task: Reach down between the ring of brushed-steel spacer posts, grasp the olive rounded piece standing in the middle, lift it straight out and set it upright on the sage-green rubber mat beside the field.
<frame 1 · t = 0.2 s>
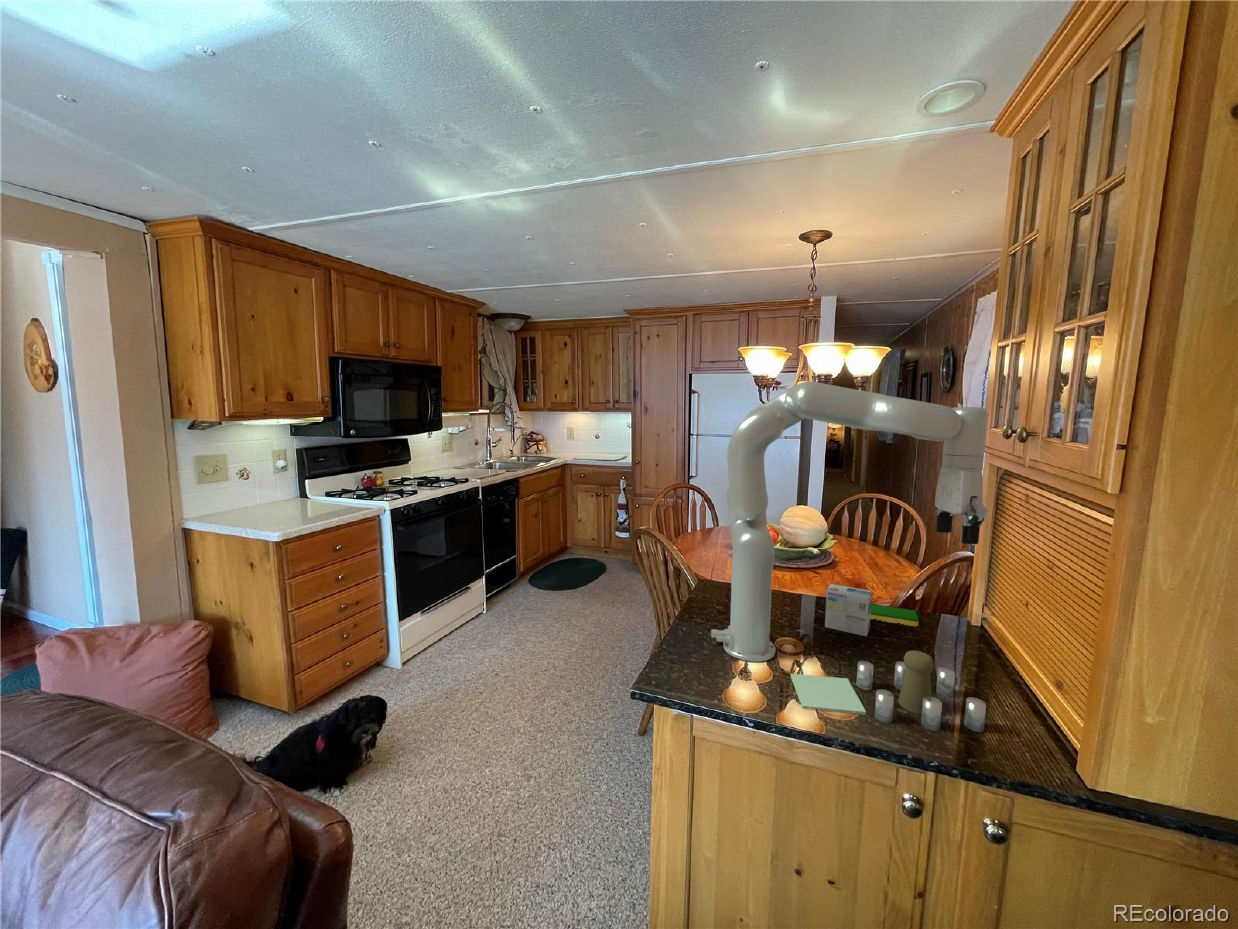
hand: (956, 537, 110), 31 cm above the table, fingers open, 9 cm apart
spacer field: (915, 705, 98), on the table
mat: (825, 694, 102), on the table
olive rounded piece: (915, 706, 98), on the table
dish sponge: (888, 619, 140), on the table
light bulb box: (846, 628, 133), on the table
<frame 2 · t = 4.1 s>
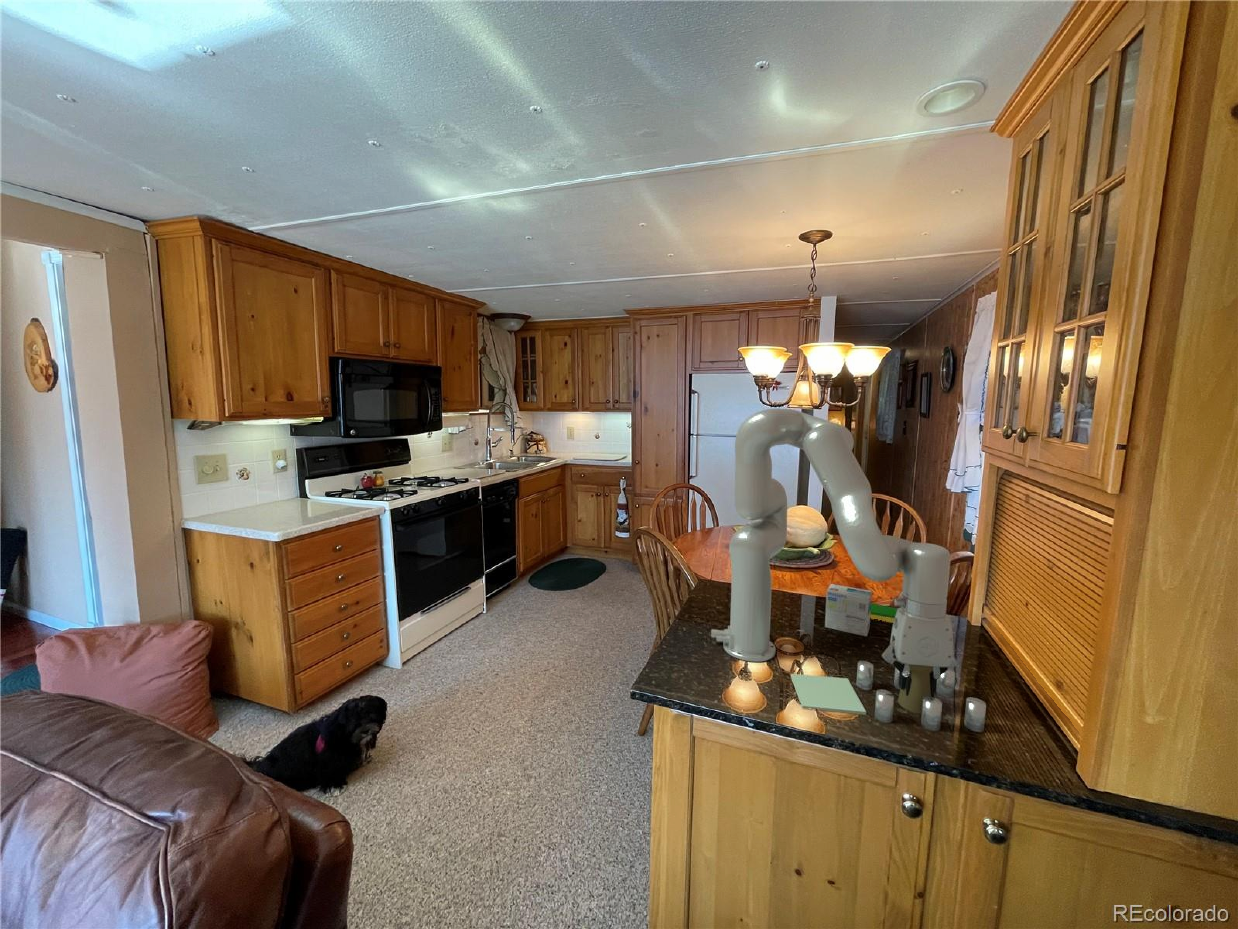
hand: (916, 692, 98), 3 cm above the table, fingers closed on olive rounded piece, 3 cm apart
olive rounded piece: (914, 706, 98), on the table, touching gripper
everything else where it was.
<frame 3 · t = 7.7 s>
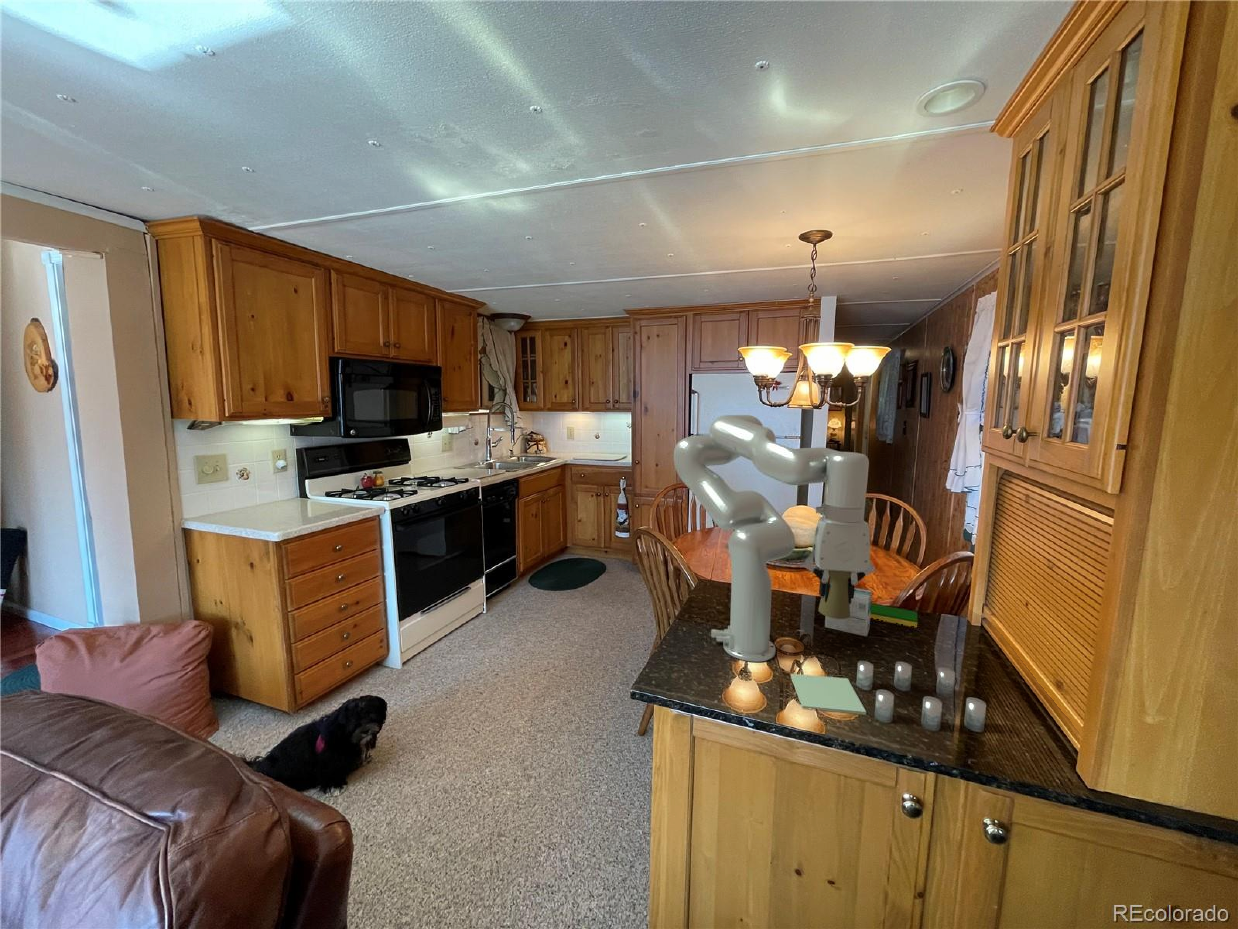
hand: (835, 599, 100), 21 cm above the table, fingers closed on olive rounded piece, 3 cm apart
olive rounded piece: (834, 613, 100), point 18 cm above the table, touching gripper
everything else where it was.
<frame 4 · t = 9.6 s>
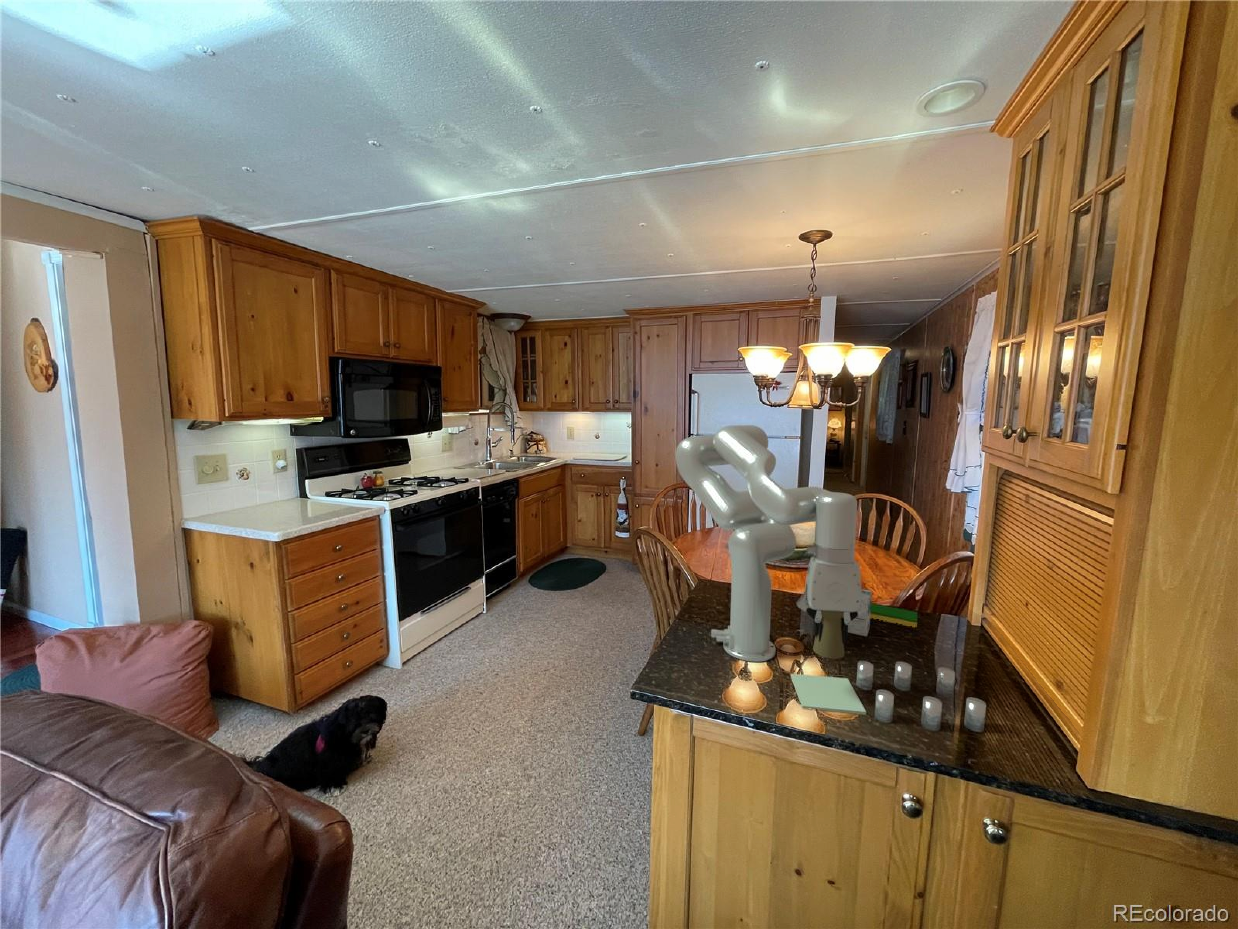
hand: (829, 638, 100), 12 cm above the table, fingers closed on olive rounded piece, 3 cm apart
olive rounded piece: (828, 652, 101), point 9 cm above the table, touching gripper
everything else where it was.
when the fingers open (5 cm above the table, at t = 11.3 s): olive rounded piece drops 1 cm, resting on mat.
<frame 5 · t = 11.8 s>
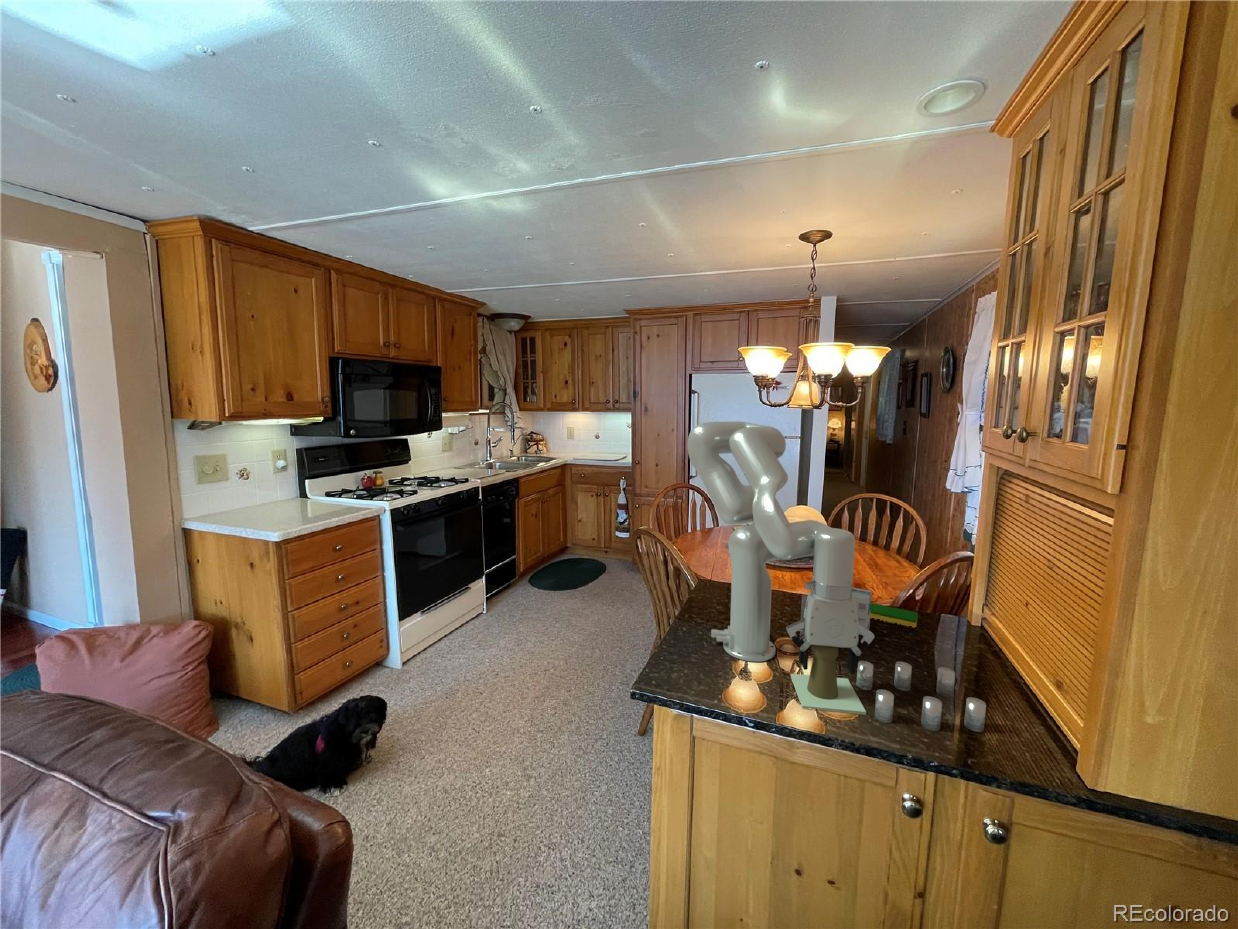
hand: (827, 668, 101), 6 cm above the table, fingers open, 9 cm apart
olive rounded piece: (822, 692, 102), resting on mat
everything else where it was.
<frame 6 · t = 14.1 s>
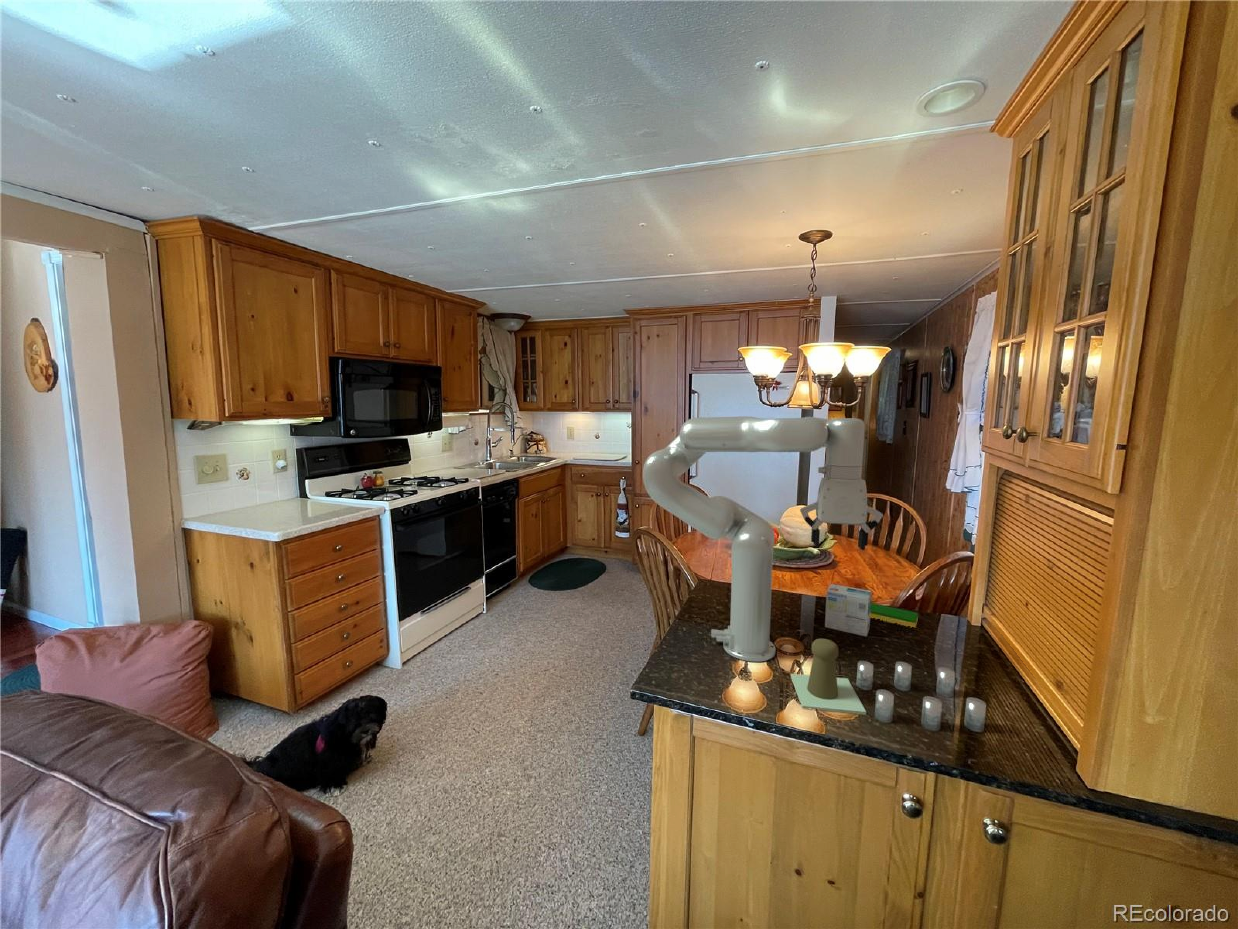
hand: (838, 546, 111), 28 cm above the table, fingers open, 9 cm apart
nothing on the table moved.
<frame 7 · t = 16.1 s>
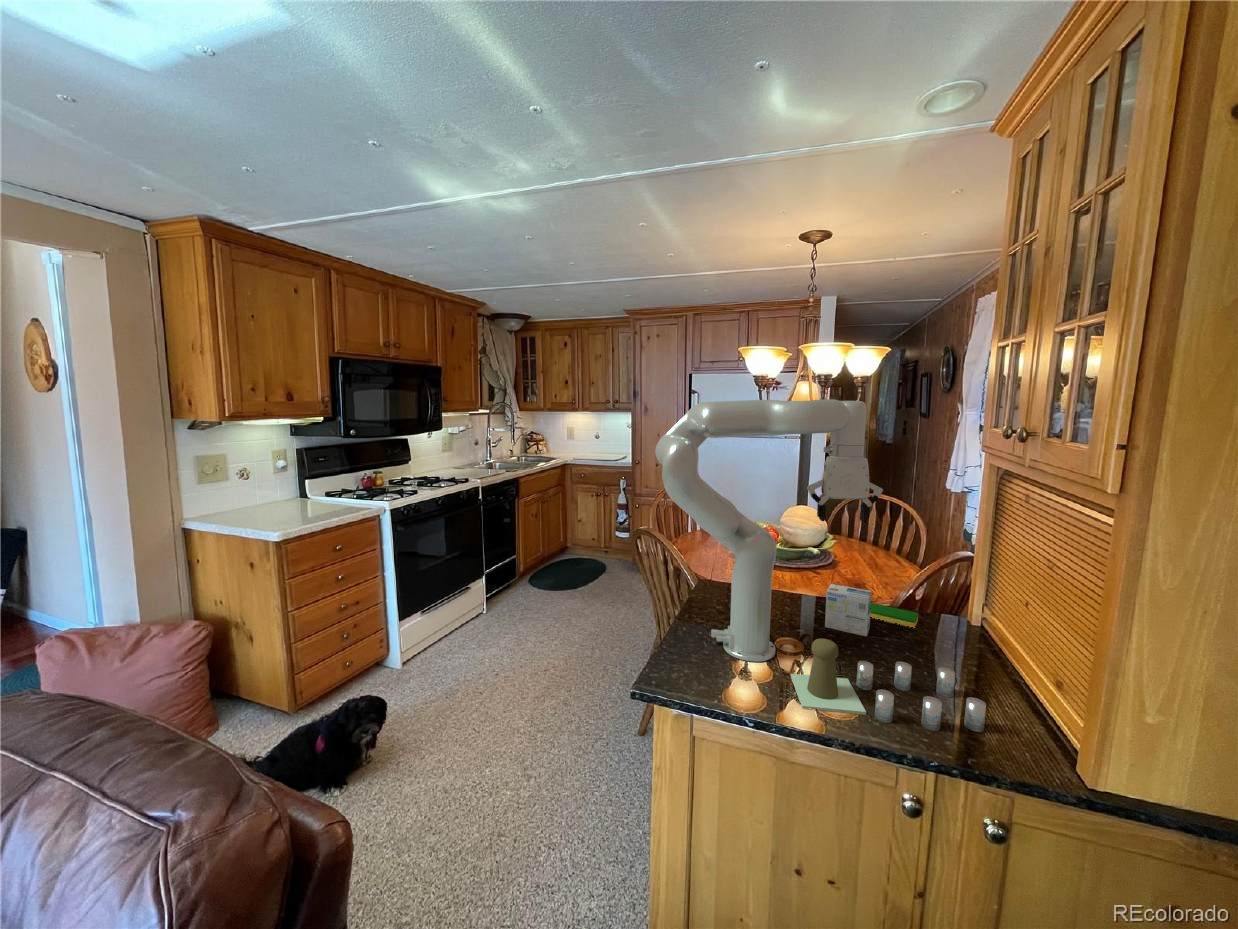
hand: (842, 520, 120), 32 cm above the table, fingers open, 9 cm apart
nothing on the table moved.
at the end: olive rounded piece inside the target area on the mat (0.7 cm from its centre), point 0.4 cm above the mat's base; olive rounded piece tilted 0°; the gripper is holding nothing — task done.
